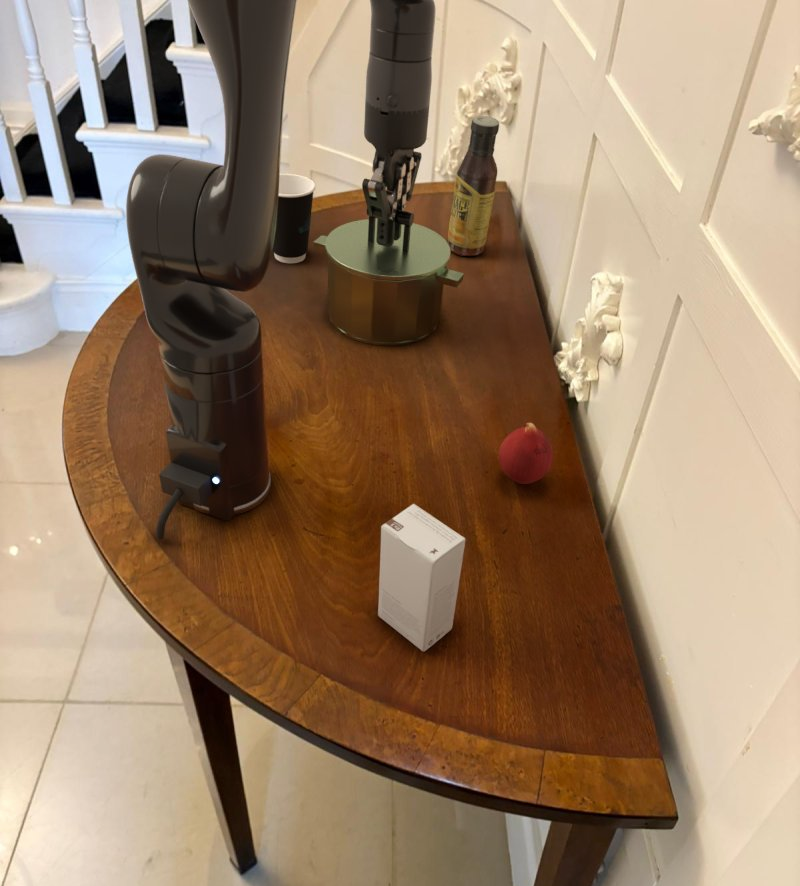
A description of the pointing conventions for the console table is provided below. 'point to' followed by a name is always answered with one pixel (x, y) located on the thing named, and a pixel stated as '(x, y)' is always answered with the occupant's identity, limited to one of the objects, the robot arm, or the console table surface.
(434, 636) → the cosmetic box
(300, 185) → the dixie cup
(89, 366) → the console table surface
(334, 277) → the pot
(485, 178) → the sauce bottle
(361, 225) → the lid
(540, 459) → the onion
